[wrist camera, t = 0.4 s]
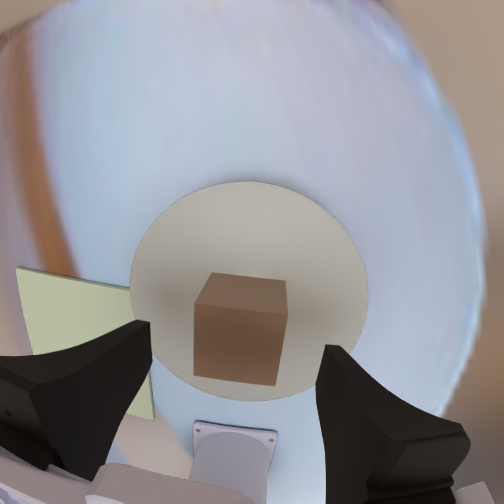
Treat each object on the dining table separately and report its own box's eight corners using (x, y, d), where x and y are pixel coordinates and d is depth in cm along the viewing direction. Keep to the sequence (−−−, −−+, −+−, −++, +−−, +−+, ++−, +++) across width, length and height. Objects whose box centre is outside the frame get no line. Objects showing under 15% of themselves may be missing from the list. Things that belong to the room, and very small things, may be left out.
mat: (155, 417, 27) (153, 420, 26) (45, 381, 28) (42, 384, 27) (144, 290, 23) (142, 293, 23) (18, 266, 24) (15, 267, 23)
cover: (336, 400, 20) (346, 450, 15) (141, 375, 21) (116, 418, 16) (385, 199, 16) (422, 213, 11) (135, 173, 17) (91, 178, 12)
